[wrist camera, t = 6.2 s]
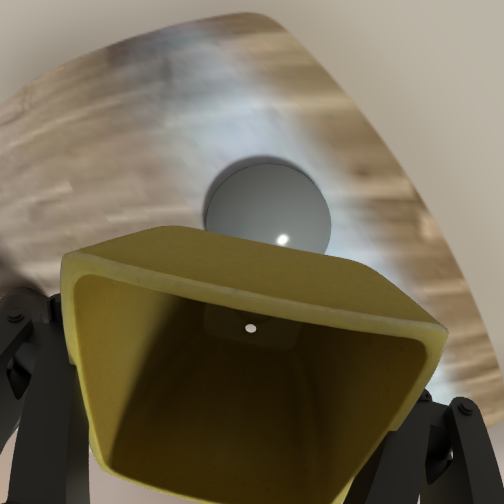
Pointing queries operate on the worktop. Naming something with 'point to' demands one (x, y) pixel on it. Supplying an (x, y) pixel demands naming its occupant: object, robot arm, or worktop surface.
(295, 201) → the coaster
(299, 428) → the flower pot
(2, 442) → the robot arm
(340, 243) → the worktop surface
